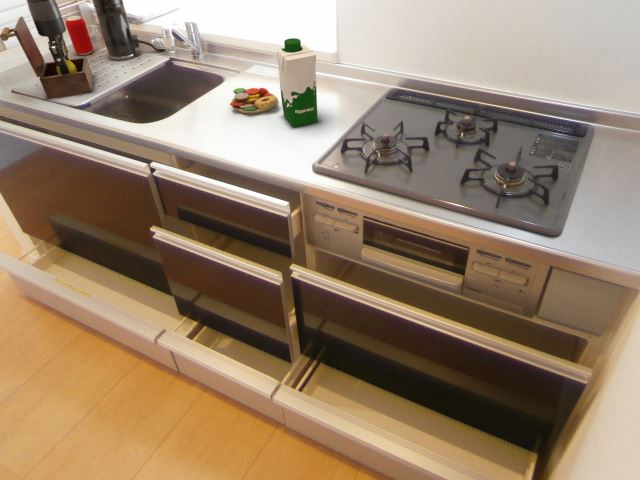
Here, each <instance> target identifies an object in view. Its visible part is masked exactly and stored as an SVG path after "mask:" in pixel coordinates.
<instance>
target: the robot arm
mask: <svg viewBox="0 0 640 480" xmlns="http://www.w3.org/2000/svg"><path fill="white" fill-rule="evenodd" d="M91 2H92V5H93V8H94V11H95V14H96V18H97V21H98V25H99V27H100V30H101V34H102V37H103V40H104V44H105V47H106V50H107V53H108V57H109V59H110V60H114V61H123V60H128V59H132V58H133V57H138V50H137V48H138V49H139V48H140V44H144V45H147V46H149V47H151V48H152V49H153V50H154V51H156V52H164V51H166V48H165V49H161V48H158V47H156V46H155V45H154V44H152V43H151V42H149V41H146V40H141V39H139V37H138V35H137V34H133V32H132V29H131V25H130V22H129V19H128V16H127V11H126V8H125V4H124V1H123V0H91ZM26 4H27V7H28V11H29V13H30V16H31V18H32V21H33V24H34V26H35V28H36V31H37V34H38V35H39V36H41V37H47V38H48V41H47V45H48V50H49V52H50V54H51V57H52V59H53V62H54V61H55V64H56V66H59V68H60V71H61V74H69V73H70V72H69V69H68V66H67V62H66V60H69V59H70V58H69V49H68V47H67V44H66V41H65V38H64V33H66V32H67V27H66V24H65V22H64V19H63V16H62V14H61V11H60V7H59V5H58V3H57V1H56V0H26ZM61 60H62V61H61Z"/></svg>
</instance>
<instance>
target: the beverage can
mask: <svg viewBox="0 0 640 480" xmlns="http://www.w3.org/2000/svg"><path fill="white" fill-rule="evenodd" d="M86 24H87V23H86V20H85V19H83V18H82V16H80V15H72V16H68V17H67V18H66V19H65V28H66V31H67V33H68V35H69V38H70V41H71V43H72V47H73V49H74V52H75V54H77V55H79V56H88V55H90V54H91V53H92V52H93V51H94V45H93V42H92V40H91V36H90V34H89V30H88V27H87V25H86Z"/></svg>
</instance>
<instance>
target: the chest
mask: <svg viewBox="0 0 640 480" xmlns="http://www.w3.org/2000/svg"><path fill="white" fill-rule="evenodd" d="M69 61H71V62H72V63H73V64H74V65H75V67H76V69H77V72H76V73H69V74H62V75H58V73H57V66H56V64H55V61H54V60H53V61H47V62H44V65H43V69H42V72H41V75H40V77H39V81H40V84H41V86H42V88H43V91H44V93H45V96H46V98H47V100H50V99H57V98H63V97H64V98H65V97H71V96H76V95H84V94H90V93H92V92H93V84H94V83H93V81H94V74H93V72H92V69H91V66H90V63H89V60H88V57H87V56H83V57H75V58H69Z"/></svg>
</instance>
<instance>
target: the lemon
mask: <svg viewBox="0 0 640 480" xmlns="http://www.w3.org/2000/svg"><path fill="white" fill-rule="evenodd" d="M60 61H62V60H61V59H60ZM66 62H67V66H68V69H69V72H70V73H76V72H77V69H76V67H75V65H74V64H73V63H72V62H71V61H69V60H66ZM57 73H58V75H62V74H61V71H60V68H59V66H57Z"/></svg>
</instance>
